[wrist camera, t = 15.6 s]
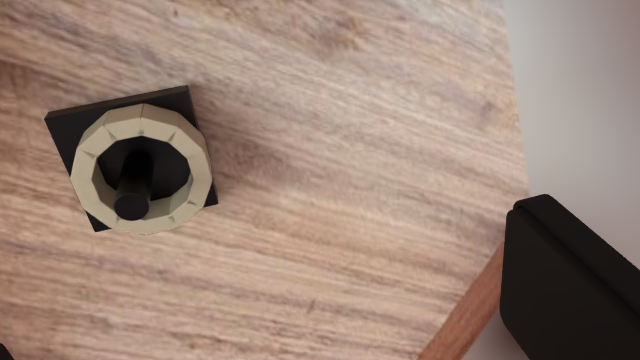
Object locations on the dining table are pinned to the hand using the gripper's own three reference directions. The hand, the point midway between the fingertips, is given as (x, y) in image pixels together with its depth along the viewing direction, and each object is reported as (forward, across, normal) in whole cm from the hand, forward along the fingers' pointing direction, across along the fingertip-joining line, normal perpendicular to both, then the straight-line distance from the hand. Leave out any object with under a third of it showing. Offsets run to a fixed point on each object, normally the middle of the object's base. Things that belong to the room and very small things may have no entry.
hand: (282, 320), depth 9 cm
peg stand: (+26, +8, +8) cm, 29 cm away
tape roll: (+25, +7, +8) cm, 27 cm away
